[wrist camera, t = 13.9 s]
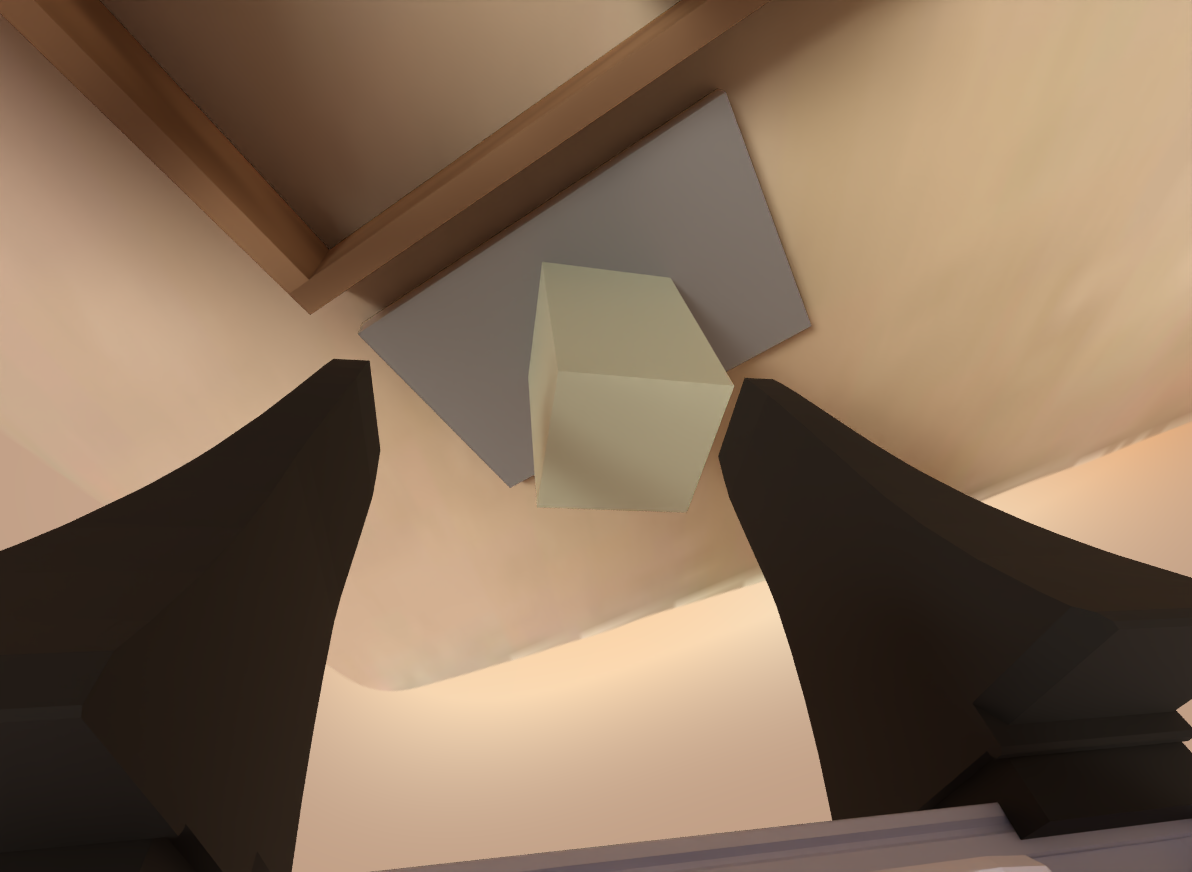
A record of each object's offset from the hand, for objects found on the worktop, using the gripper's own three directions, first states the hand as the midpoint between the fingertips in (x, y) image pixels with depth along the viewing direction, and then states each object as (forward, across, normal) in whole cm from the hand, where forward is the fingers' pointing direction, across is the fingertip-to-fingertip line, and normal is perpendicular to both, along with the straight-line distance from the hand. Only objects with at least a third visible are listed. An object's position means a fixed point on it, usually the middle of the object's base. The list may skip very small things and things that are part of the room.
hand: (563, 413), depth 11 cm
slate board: (+10, -2, +3) cm, 11 cm away
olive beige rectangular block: (+10, -2, +3) cm, 10 cm away
